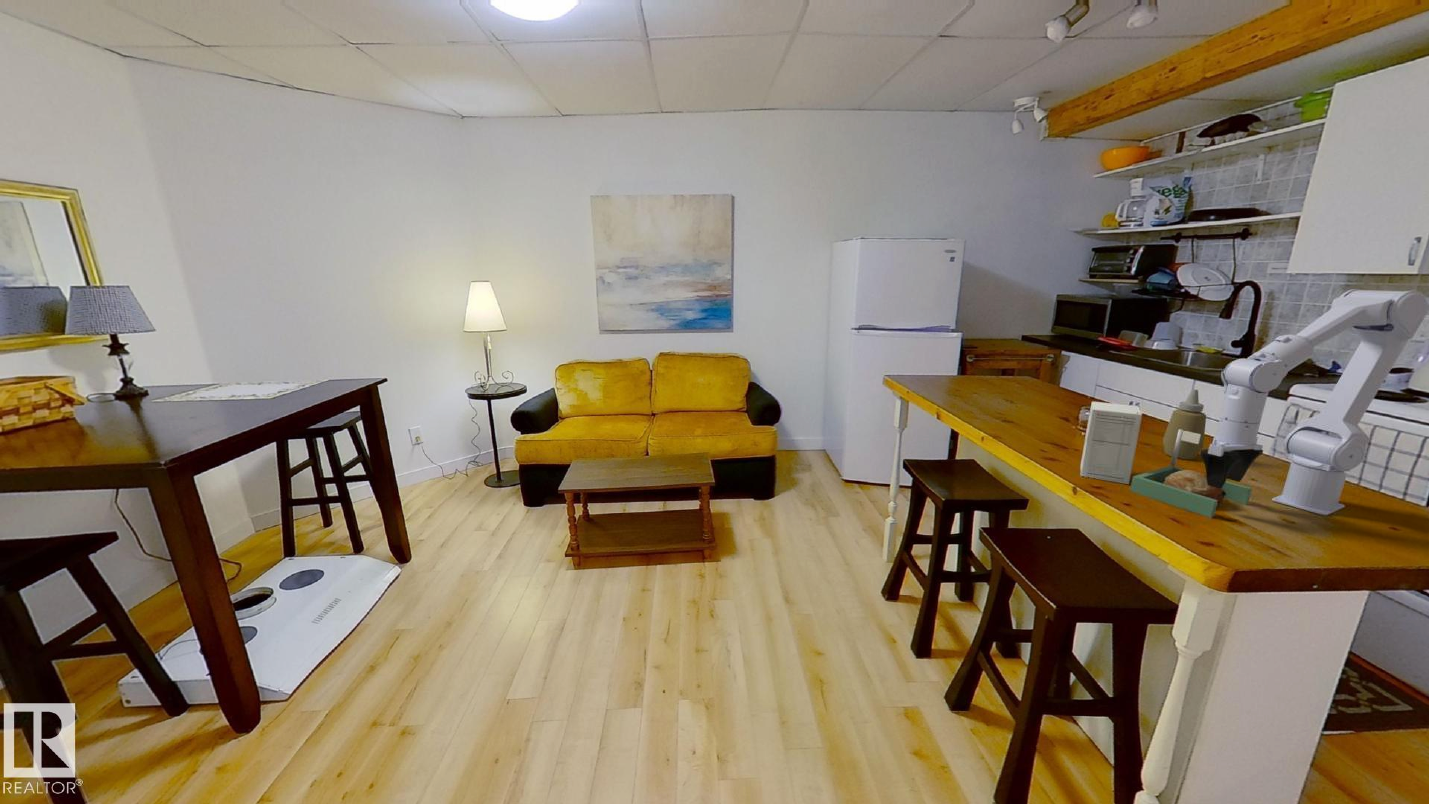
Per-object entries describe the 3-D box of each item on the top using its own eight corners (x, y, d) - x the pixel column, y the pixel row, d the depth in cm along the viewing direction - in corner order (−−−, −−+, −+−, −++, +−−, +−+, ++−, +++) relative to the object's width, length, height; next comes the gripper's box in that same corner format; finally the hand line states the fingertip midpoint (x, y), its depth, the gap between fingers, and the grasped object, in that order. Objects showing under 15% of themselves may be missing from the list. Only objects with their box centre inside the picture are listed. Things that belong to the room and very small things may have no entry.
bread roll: (1163, 502, 118) (1150, 469, 118) (1223, 493, 112) (1209, 459, 112) (1170, 519, 110) (1156, 484, 110) (1235, 511, 104) (1220, 473, 104)
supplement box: (1126, 472, 125) (1140, 405, 121) (1130, 485, 118) (1145, 414, 114) (1079, 464, 131) (1090, 400, 127) (1079, 476, 123) (1091, 408, 119)
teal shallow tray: (1167, 479, 121) (1179, 428, 118) (1248, 503, 109) (1263, 447, 106) (1129, 491, 115) (1141, 437, 112) (1210, 517, 102) (1225, 458, 99)
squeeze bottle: (1152, 450, 141) (1166, 386, 137) (1185, 451, 140) (1200, 386, 135) (1173, 460, 133) (1189, 393, 129) (1208, 462, 132) (1225, 394, 128)
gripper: (1249, 429, 96) (1231, 497, 100) (1284, 420, 102) (1266, 483, 106) (1201, 420, 102) (1186, 483, 106) (1237, 411, 108) (1222, 472, 112)
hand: (1223, 483), depth 106 cm, fingers open, 7 cm apart
